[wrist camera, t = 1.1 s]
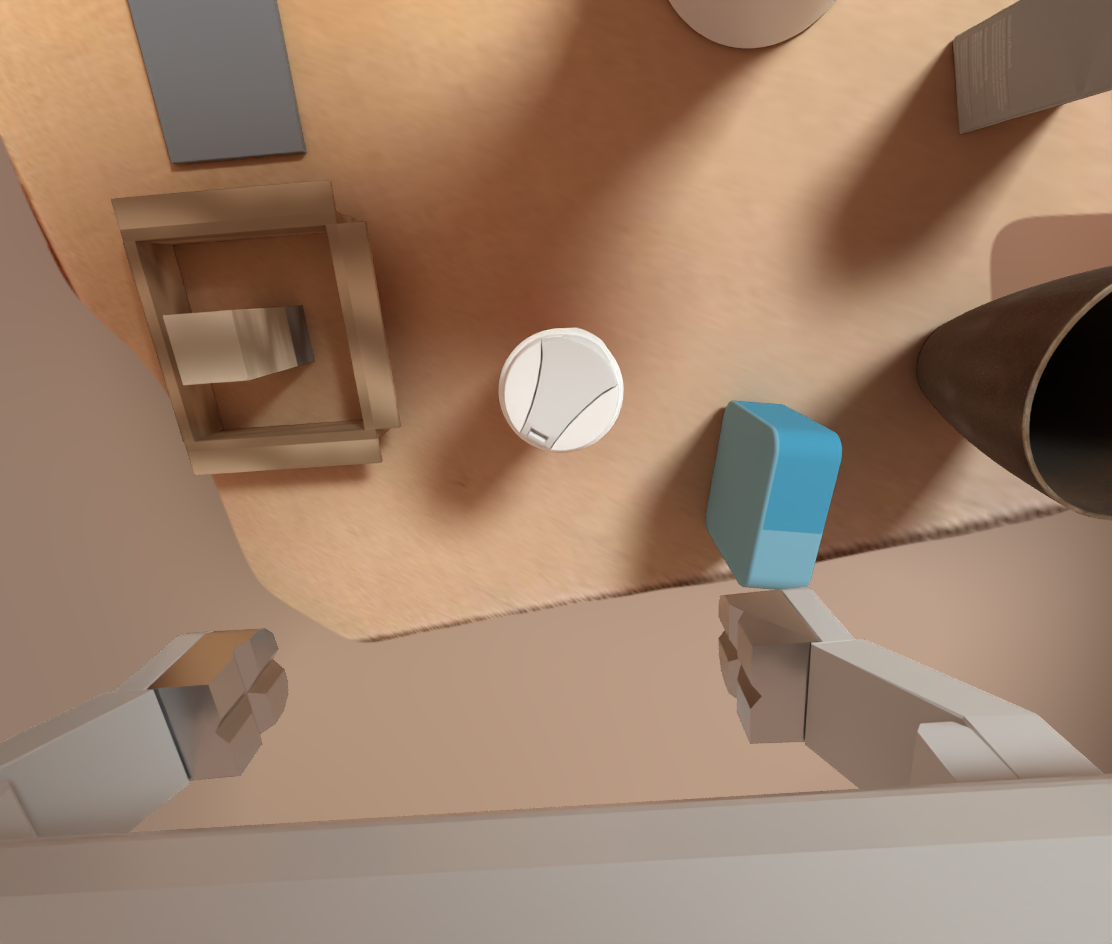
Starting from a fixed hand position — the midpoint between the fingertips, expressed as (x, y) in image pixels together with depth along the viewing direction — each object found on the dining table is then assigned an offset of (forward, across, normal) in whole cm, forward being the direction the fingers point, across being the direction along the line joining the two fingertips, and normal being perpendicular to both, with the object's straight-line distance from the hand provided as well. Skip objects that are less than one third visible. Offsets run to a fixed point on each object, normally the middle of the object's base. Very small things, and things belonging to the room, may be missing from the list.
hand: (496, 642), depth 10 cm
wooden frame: (+38, +22, -5) cm, 44 cm away
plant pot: (+38, -34, +2) cm, 51 cm away
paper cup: (+38, -1, 0) cm, 38 cm away
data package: (+38, -16, +10) cm, 42 cm away
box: (+38, +22, -5) cm, 44 cm away
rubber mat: (+37, +21, -25) cm, 50 cm away
